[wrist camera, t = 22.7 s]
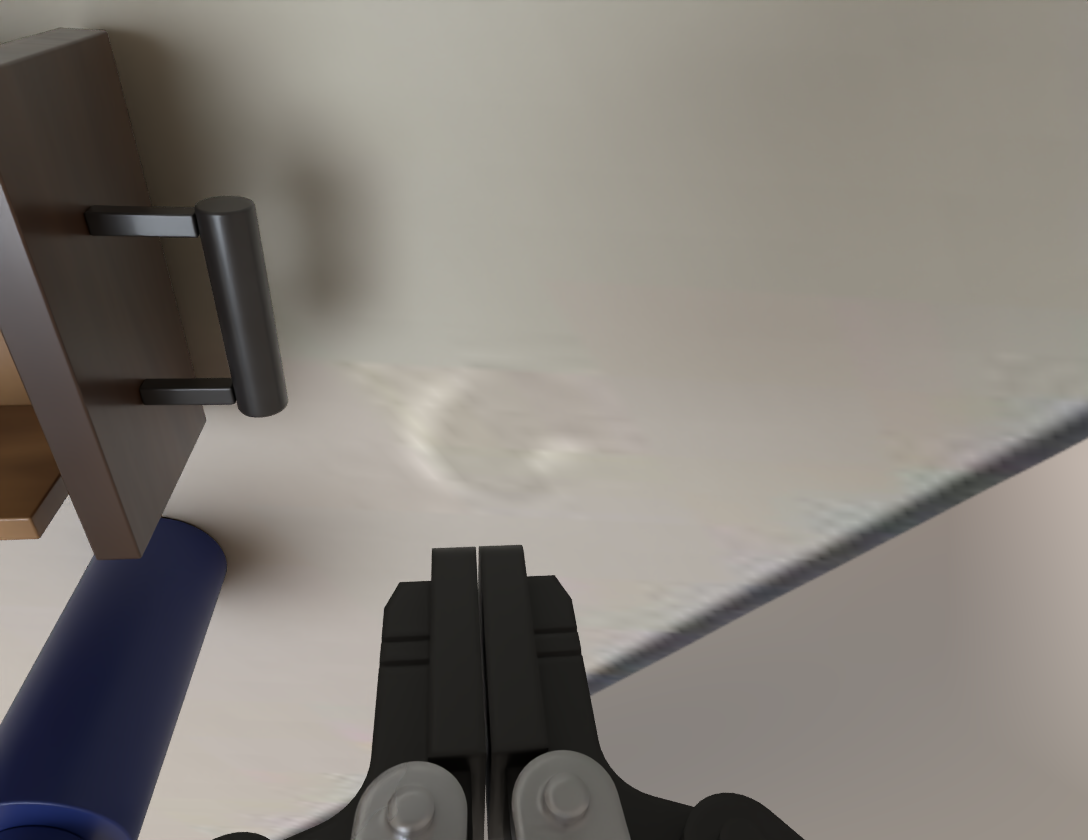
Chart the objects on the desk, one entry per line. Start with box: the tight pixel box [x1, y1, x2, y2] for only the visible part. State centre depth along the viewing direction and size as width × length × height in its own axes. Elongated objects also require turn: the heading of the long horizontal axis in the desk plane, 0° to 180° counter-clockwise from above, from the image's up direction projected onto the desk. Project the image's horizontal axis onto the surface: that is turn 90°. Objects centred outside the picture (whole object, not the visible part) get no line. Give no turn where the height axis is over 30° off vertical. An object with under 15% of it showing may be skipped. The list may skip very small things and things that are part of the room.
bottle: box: [0, 518, 227, 840], centre depth 24 cm, size 5×5×14 cm
